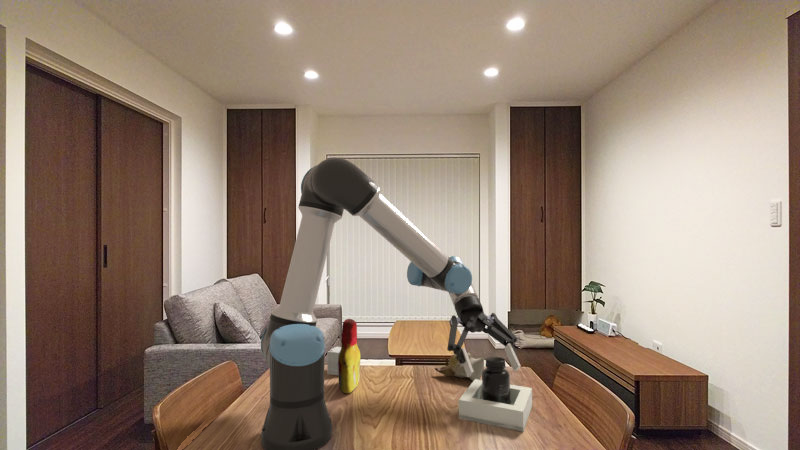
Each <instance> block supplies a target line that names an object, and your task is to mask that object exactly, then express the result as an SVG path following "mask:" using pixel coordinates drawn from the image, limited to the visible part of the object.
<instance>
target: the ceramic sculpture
mask: <svg viewBox="0 0 800 450" xmlns="http://www.w3.org/2000/svg"><path fill="white" fill-rule="evenodd" d="M466 352H467V354H468V357H469V360H470V363H471V365H472V368H473V371H474V372H473V374H472V375H471V376H470V377H467V375H466V372H465V369H464V366H463V363H462V364H460V362H459V360H458V357H457V354H454V353H453V354H452V355H451V356H450V358H449V360H448V365H444V366H442V367H441V366H440V367H436V368H434V370H435V371H436V372H439V373H440V374H442V375H443V376H447V377H448V376H455V377H458V378H461V379H462V378H463V379H464V378H469V379H470V380H471V381H472V382H473V381H474V380H475V379H478V380H481V379H482V372H483V370H484V369H485V359H484V357H480V358H474V357H472V355H471V353H470V352H469V351H468V350H466Z"/></svg>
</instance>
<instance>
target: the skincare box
mask: <svg viewBox="0 0 800 450" xmlns="http://www.w3.org/2000/svg"><path fill="white" fill-rule="evenodd" d="M341 347H342V346H335V347H332V348H331V349H329V350H328V351H326V352H327V353H326V355H327V358H326V363H327V364H326V365H327V367H326V368H327V374H328V375H333V376H339V373H338V357H339V353H340V350H341Z"/></svg>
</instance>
